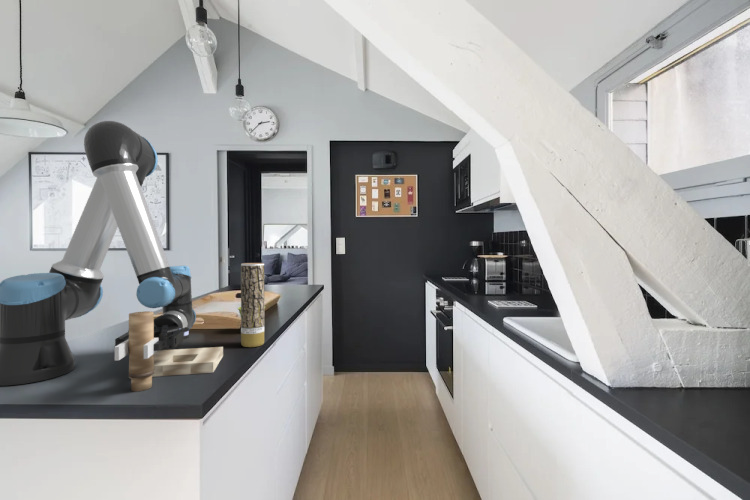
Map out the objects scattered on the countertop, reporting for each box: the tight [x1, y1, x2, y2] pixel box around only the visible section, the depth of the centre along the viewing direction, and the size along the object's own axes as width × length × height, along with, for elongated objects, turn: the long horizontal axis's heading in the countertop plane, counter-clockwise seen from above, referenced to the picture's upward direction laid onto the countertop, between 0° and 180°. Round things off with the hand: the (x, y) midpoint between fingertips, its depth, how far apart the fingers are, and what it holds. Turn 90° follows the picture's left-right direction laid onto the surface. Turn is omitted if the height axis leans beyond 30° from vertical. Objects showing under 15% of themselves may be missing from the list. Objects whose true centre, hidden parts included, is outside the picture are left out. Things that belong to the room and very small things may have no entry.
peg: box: [128, 310, 155, 392], centre depth 80 cm, size 5×5×16 cm
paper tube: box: [240, 262, 265, 348], centre depth 115 cm, size 7×7×25 cm
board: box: [128, 346, 224, 379], centre depth 95 cm, size 18×14×2 cm
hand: (131, 352), depth 75 cm, fingers closed on peg, 4 cm apart
